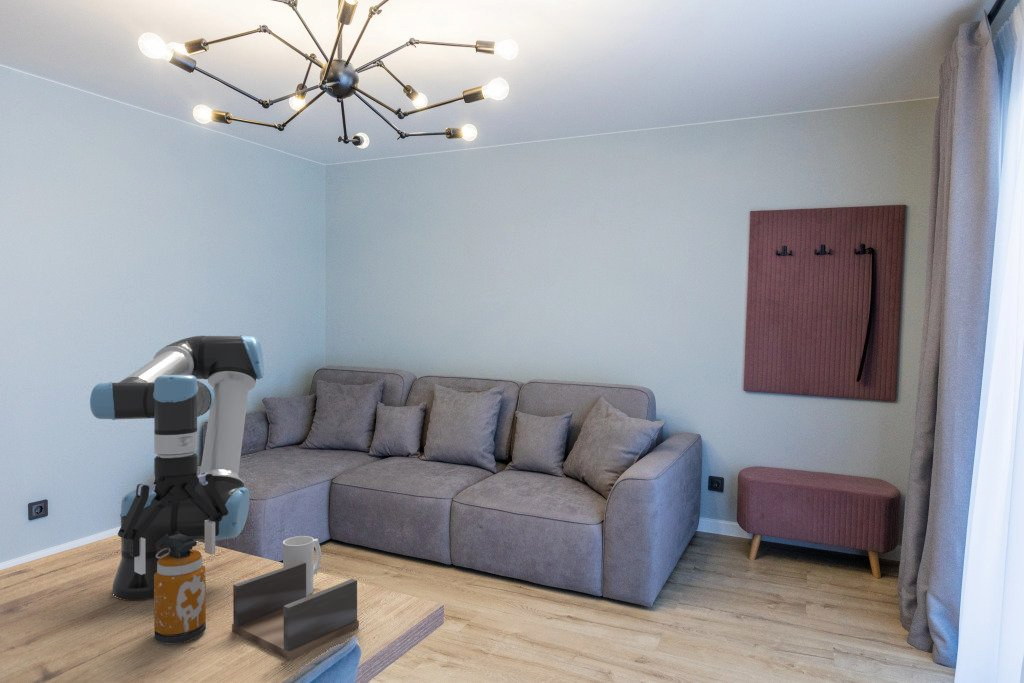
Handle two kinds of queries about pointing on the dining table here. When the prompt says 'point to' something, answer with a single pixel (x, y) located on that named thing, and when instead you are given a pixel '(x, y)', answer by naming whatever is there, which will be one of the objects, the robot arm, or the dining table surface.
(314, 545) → the mug
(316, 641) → the holder
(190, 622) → the canister
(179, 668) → the dining table surface
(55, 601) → the dining table surface
